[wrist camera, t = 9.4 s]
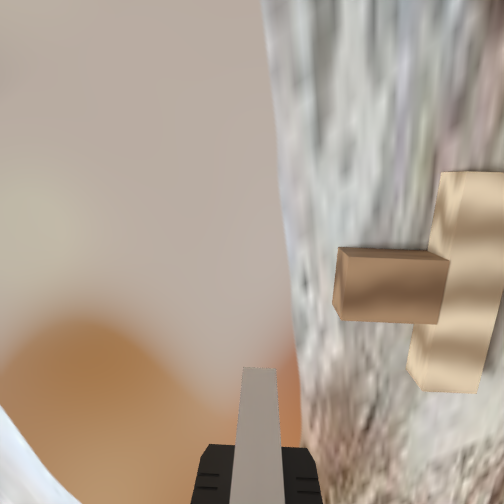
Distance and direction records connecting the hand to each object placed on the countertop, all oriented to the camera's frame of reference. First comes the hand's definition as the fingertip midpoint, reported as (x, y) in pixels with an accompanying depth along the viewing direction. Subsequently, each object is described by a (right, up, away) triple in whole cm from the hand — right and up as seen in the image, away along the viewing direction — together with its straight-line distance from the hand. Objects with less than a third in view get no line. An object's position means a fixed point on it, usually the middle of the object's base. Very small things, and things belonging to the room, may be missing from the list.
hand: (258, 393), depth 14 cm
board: (+23, +3, +20) cm, 31 cm away
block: (+14, +4, +21) cm, 26 cm away
